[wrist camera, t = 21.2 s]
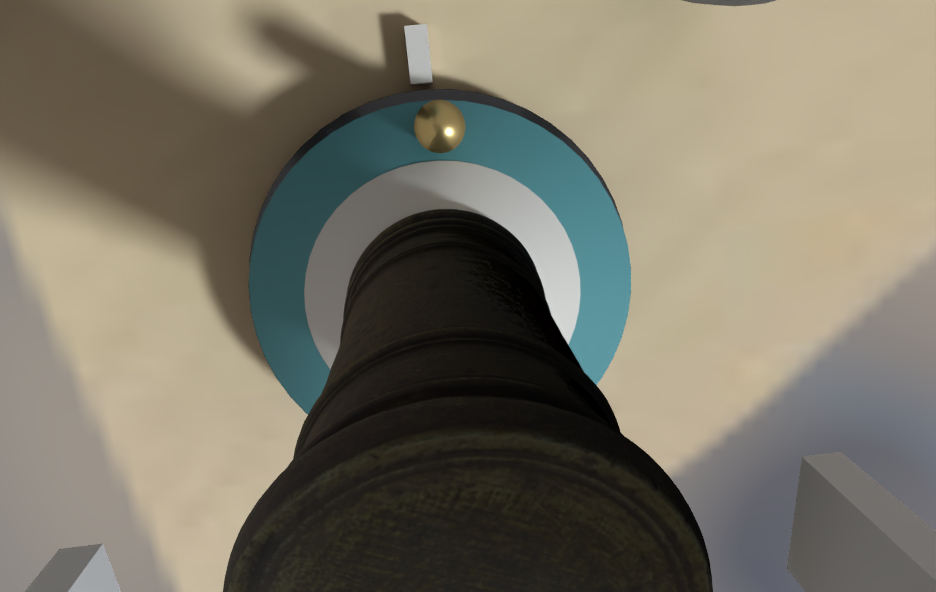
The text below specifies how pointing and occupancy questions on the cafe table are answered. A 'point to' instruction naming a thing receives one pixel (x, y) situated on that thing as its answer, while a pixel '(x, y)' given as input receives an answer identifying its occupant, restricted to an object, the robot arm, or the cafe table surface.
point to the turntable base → (418, 75)
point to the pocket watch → (730, 2)
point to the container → (463, 444)
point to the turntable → (422, 189)
